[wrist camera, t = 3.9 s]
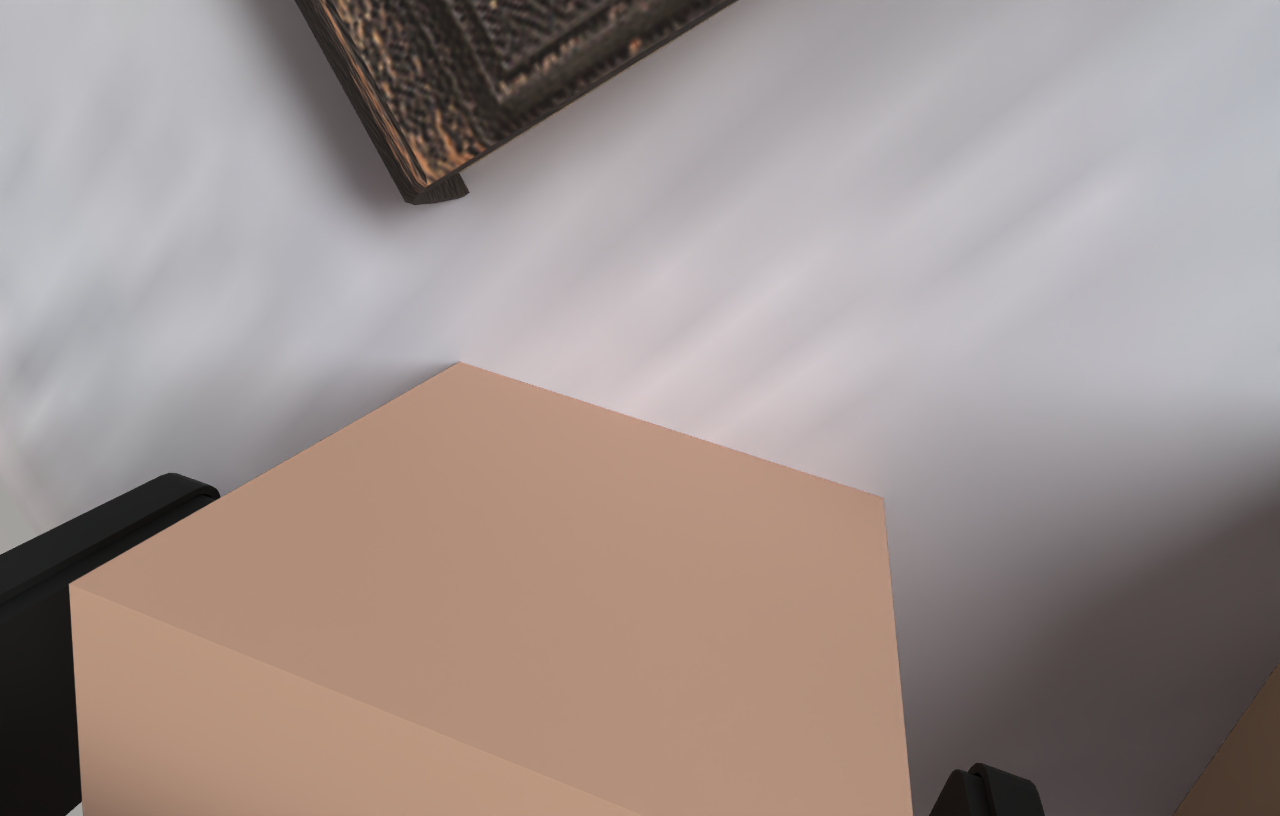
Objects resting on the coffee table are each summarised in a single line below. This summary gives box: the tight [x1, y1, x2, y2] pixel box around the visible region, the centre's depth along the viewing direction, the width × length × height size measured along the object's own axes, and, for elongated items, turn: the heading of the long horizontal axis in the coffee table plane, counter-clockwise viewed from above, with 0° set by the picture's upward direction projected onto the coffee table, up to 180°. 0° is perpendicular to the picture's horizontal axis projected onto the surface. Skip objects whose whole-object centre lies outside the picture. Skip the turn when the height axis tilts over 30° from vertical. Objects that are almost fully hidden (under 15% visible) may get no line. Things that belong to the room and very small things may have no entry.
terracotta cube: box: [69, 362, 913, 816], centre depth 9 cm, size 6×6×6 cm
